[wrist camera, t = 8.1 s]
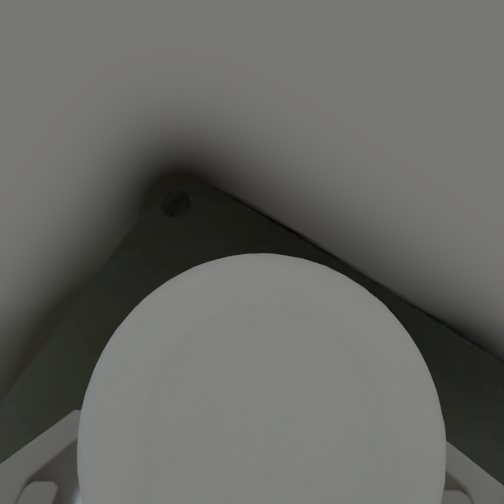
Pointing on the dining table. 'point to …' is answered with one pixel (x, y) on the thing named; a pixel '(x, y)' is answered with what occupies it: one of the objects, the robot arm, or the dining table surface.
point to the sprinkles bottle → (261, 395)
